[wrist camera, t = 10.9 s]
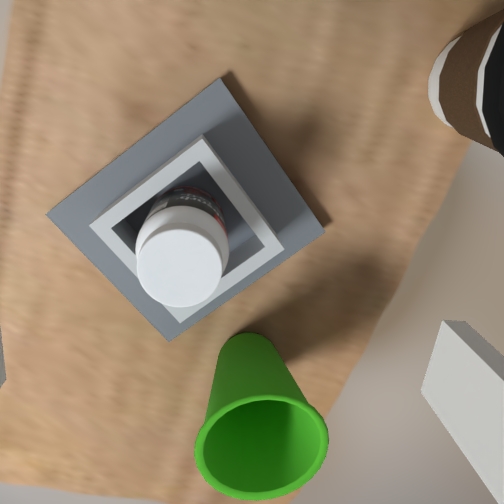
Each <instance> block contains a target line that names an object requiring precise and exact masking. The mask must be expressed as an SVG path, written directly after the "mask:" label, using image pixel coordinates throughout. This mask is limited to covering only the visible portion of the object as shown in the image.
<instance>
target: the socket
mask: <svg viewBox="0 0 504 504" xmlns="http://www.w3.org/2000/svg"><path fill="white" fill-rule="evenodd" d="M177 187H195V188H198V189H201V190H203V191H205V192H207V193H208V194H210V195H211V196H212V197H213V198H214V199H215V200H216V201H217V202H218V204H219V205H220V207H221V209H222V211H223V214H224V218H225V225H226V231H227V237H228V243H229V258H228V263H227V266H226V268H225V270H224V272H223V274H222V278H221V281H220V283H219V285H218V287H217V289H216V290H215V291H214V293H213V294H212V295H211V296H210V297H208V298H207V299H206V300H204V301H203V302H201V303H199V304H196V305H193V306H189V307H172V306H168V305H164V304H162V303H160V302H158V301H156V300H155V299H153V298H152V297H151V296H150V295H149V294H148V293H147V292H146V291H145V290H144V288H143V287H142V285H141V283H140V281H139V278H138V275H137V259H136V251H135V248H136V241H137V237H138V234H139V231H140V229H141V227H142V225H143V224H144V222H145V220H146V218H147V216H148V214H149V212H150V210H151V208H152V206H153V204H154V203H155V201H156V200H157V199H158V198H159V197H160V196H161V195H162V194H164V193H165V192H167V191H169V190H171V189H174V188H177ZM45 215H46V216H47V217H48V218H49V219H50V220H51V221H52V222H53V223H54V224H55V225H56V226H57V227H58V228H59V229H60V230H61V231H62V232H63V233H64V234H65V235H66V236H67V237H68V238H69V239H70V240H71V241H72V243H73V244H74V245H75V246H76V247H77V248H78V249H79V250H80V251H81V252H82V253H83V254H84V255H85V256H86V257H87V258H88V259H89V260H90V261H91V262H92V263H93V264H94V265H95V266H96V267H97V268H98V269H99V270H100V271H101V272H102V273H103V275H104V276H105V277H106V278H107V279H108V280H109V281H110V282H111V283H112V284H113V285H114V286H115V287H116V288H117V289H118V290H119V291H120V292H121V293H122V294H123V295H124V296H125V297H126V298H127V299H128V300H129V301H130V302H131V303H132V304H133V306H134V307H135V308H136V309H137V310H138V311H139V312H140V313H141V314H142V315H143V316H144V317H145V318H146V319H147V320H148V321H149V322H150V323H151V324H152V325H153V326H154V327H155V328H156V329H157V330H158V331H159V332H160V333H161V334H162V335H163V337H164V338H165V339H166V340H167V341H168V342H170V341H171V340H172V339H174V338H175V337H177V336H178V335H180V334H181V333H182V332H184V331H185V330H187V329H188V328H190V327H191V326H192V325H194V324H195V323H197V322H198V321H199V320H201V319H202V318H204V317H205V316H207V315H208V314H209V313H211V312H212V311H214V310H215V309H217V308H218V307H219V306H221V305H222V304H224V303H225V302H227V301H228V300H229V299H231V298H232V297H234V296H235V295H236V294H238V293H239V292H241V291H242V290H244V289H245V288H246V287H248V286H249V285H251V284H252V283H254V282H255V281H256V280H258V279H259V278H261V277H262V276H264V275H265V274H266V273H268V272H269V271H271V270H272V269H273V268H275V267H276V266H278V265H279V264H281V263H282V262H283V261H285V260H286V259H288V258H289V257H291V256H292V255H293V254H295V253H296V252H298V251H299V250H300V249H302V248H303V247H305V246H306V245H308V244H309V243H310V242H312V241H313V240H315V239H316V238H318V237H319V236H320V235H322V234H323V233H325V230H324V229H323V227H322V226H321V224H320V223H319V222H318V220H317V219H316V217H315V216H314V214H313V213H312V211H311V210H310V208H309V207H308V206H307V204H306V203H305V201H304V200H303V198H302V197H301V195H300V194H299V192H298V191H297V190H296V188H295V187H294V185H293V184H292V182H291V181H290V179H289V178H288V176H287V175H286V174H285V172H284V171H283V169H282V168H281V166H280V165H279V163H278V162H277V160H276V159H275V157H274V156H273V155H272V153H271V152H270V150H269V149H268V147H267V146H266V144H265V143H264V141H263V140H262V139H261V137H260V136H259V134H258V133H257V131H256V130H255V128H254V127H253V125H252V124H251V123H250V121H249V120H248V118H247V117H246V115H245V114H244V112H243V111H242V109H241V108H240V107H239V105H238V104H237V102H236V101H235V99H234V98H233V96H232V95H231V93H230V92H229V91H228V89H227V88H226V86H225V85H224V83H223V82H222V80H221V79H220V78H219V79H217V80H216V81H215V82H214V83H212V84H211V85H210V86H208V87H207V88H206V89H205V90H203V91H202V92H201V93H200V94H198V95H197V96H196V97H194V98H193V99H192V100H191V101H189V102H188V103H187V104H185V105H184V106H183V107H182V108H180V109H179V110H178V111H177V112H175V113H174V114H173V115H171V116H170V117H169V118H168V119H166V120H165V121H164V122H163V123H161V124H160V125H159V126H157V127H156V128H155V129H154V130H152V131H151V132H150V133H149V134H147V135H146V136H145V137H143V138H142V139H141V140H140V141H138V142H137V143H136V144H135V145H133V146H132V147H131V148H129V149H128V150H127V151H126V152H124V153H123V154H122V155H121V156H119V157H118V158H117V159H115V160H114V161H113V162H112V163H110V164H109V165H108V166H106V167H105V168H104V169H103V170H101V171H100V172H99V173H98V174H96V175H95V176H94V177H92V178H91V179H90V180H89V181H87V182H86V183H85V184H84V185H82V186H81V187H80V188H78V189H77V190H76V191H75V192H73V193H72V194H71V195H70V196H68V197H67V198H66V199H64V200H63V201H62V202H61V203H59V204H58V205H57V206H56V207H54V208H53V209H52V210H50V211H49V212H48V213H47V214H45Z"/></svg>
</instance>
